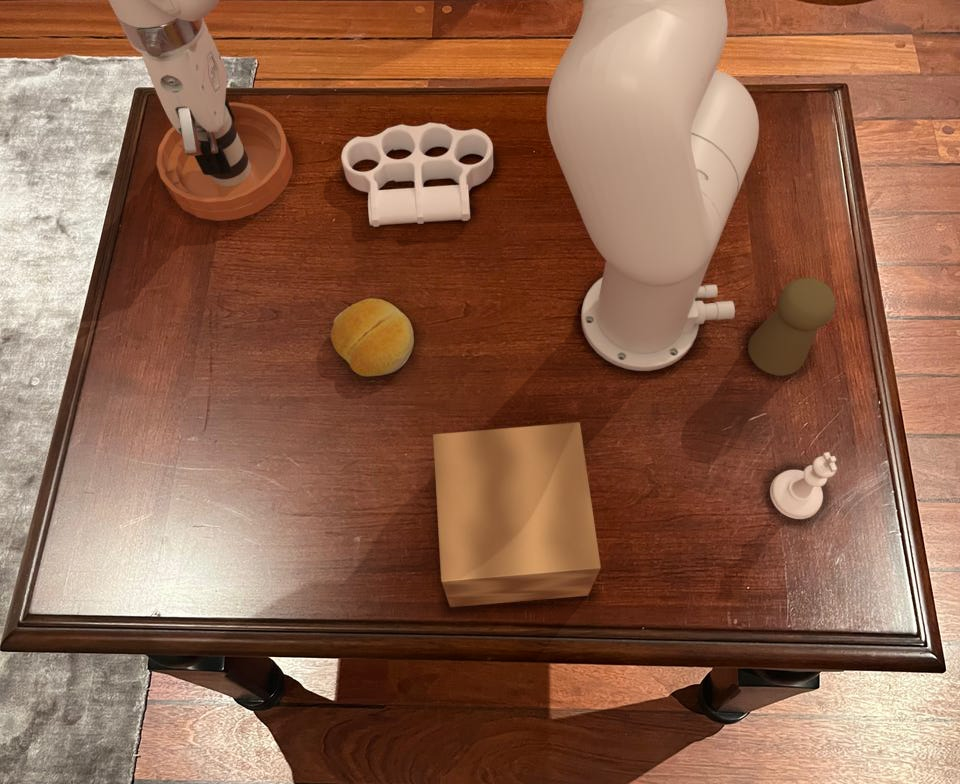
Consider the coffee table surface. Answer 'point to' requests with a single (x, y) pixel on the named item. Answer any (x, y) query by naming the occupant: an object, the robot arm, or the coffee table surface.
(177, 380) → the coffee table surface
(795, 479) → the chess piece
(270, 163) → the terracotta dish
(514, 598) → the block
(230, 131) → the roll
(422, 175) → the knuckle duster
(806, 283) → the olive pawn figure
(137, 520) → the coffee table surface
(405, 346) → the bread roll
